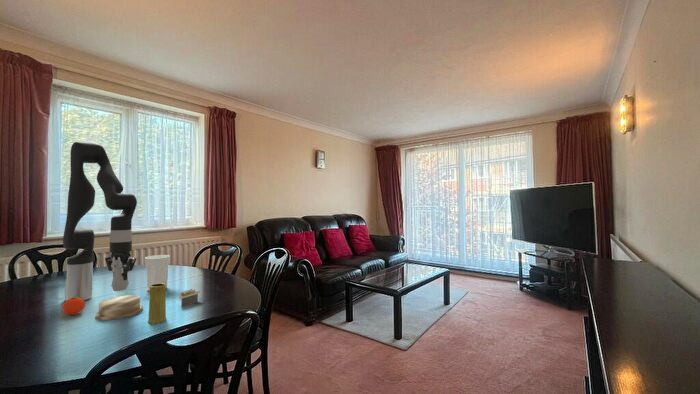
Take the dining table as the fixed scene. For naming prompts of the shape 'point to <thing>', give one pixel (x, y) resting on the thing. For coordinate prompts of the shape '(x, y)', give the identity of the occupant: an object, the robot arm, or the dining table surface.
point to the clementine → (73, 305)
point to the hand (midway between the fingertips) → (120, 281)
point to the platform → (189, 297)
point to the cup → (157, 269)
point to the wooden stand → (119, 307)
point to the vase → (157, 303)
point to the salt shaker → (119, 278)
